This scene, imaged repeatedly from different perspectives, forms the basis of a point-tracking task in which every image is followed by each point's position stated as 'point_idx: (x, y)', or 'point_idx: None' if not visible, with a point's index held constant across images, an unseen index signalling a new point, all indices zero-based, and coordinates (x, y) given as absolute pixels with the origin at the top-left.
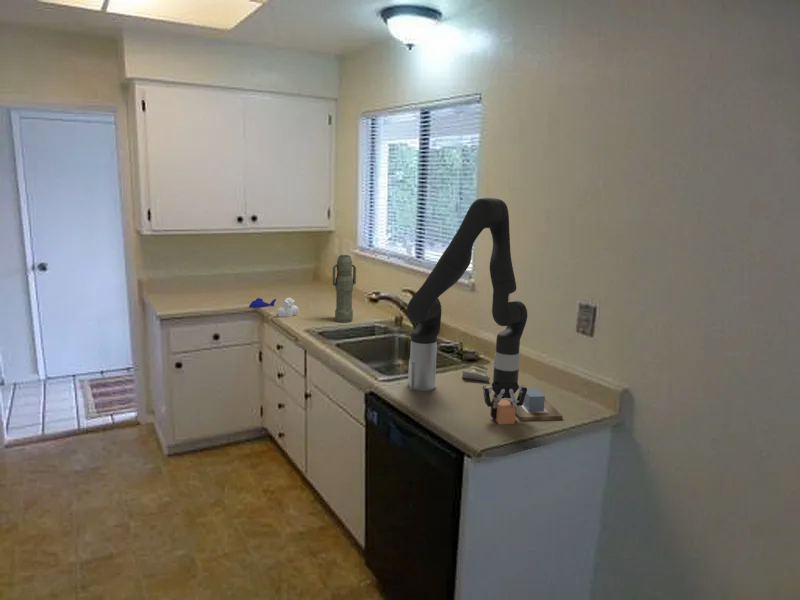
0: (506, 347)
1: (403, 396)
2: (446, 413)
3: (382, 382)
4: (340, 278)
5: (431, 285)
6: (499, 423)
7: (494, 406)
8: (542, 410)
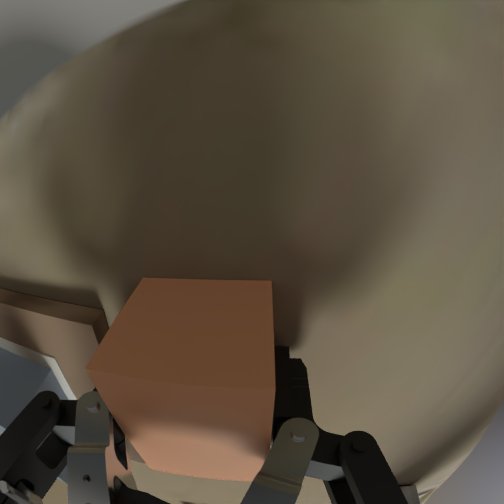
0: None
1: (454, 459)
2: (453, 402)
3: (432, 488)
4: None
5: None
6: (270, 285)
7: (303, 433)
8: (1, 351)
